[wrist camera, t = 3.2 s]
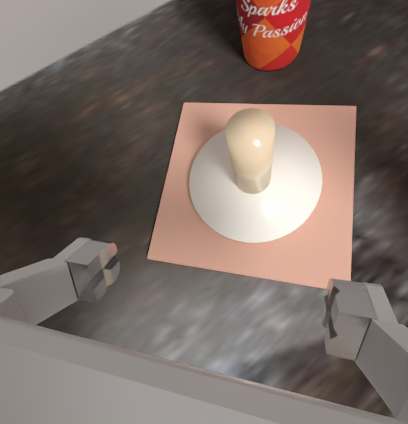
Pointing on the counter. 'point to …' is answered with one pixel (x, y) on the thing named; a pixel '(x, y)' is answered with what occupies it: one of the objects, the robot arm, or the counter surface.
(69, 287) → the robot arm
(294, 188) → the lid
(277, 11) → the paper cup
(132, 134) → the counter surface
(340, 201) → the mat
